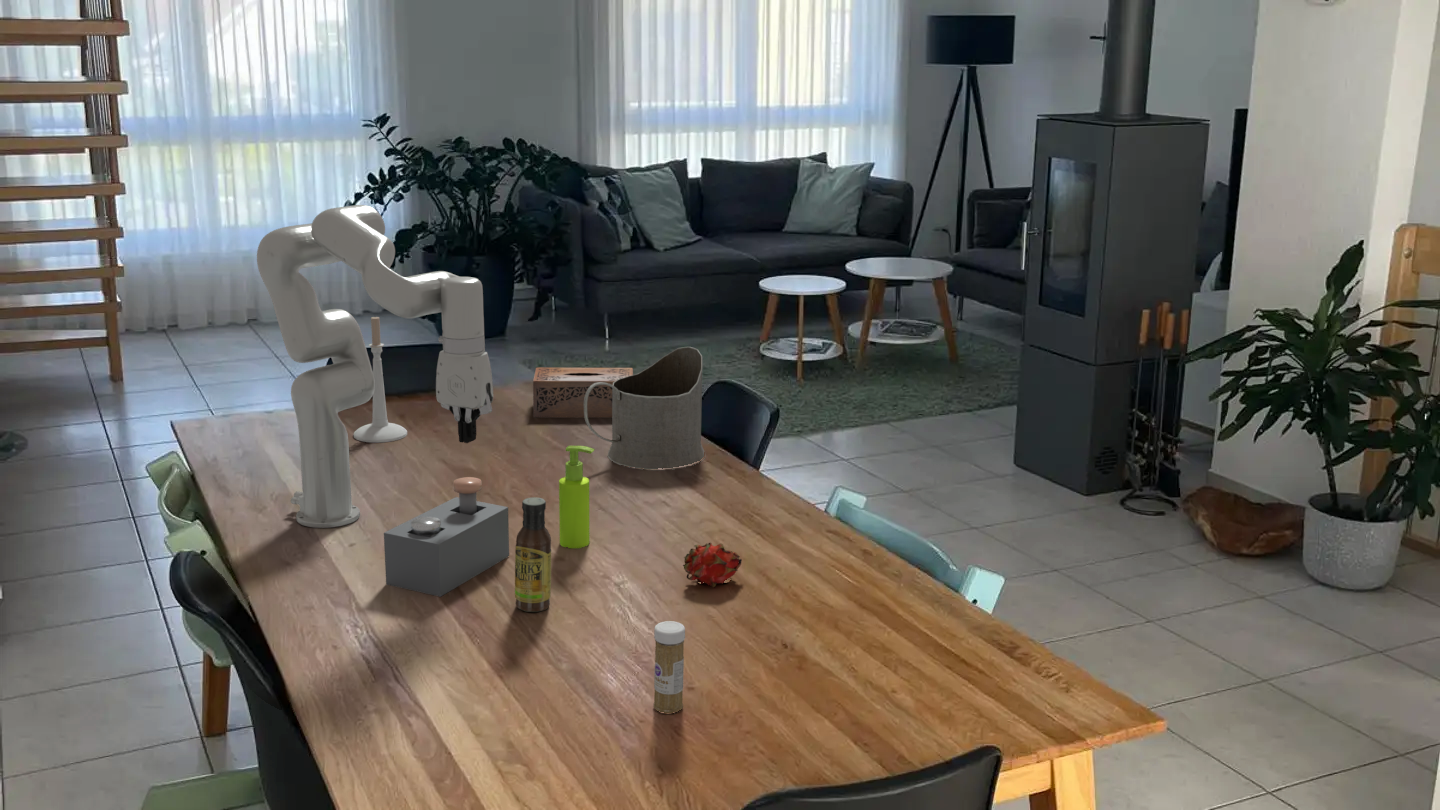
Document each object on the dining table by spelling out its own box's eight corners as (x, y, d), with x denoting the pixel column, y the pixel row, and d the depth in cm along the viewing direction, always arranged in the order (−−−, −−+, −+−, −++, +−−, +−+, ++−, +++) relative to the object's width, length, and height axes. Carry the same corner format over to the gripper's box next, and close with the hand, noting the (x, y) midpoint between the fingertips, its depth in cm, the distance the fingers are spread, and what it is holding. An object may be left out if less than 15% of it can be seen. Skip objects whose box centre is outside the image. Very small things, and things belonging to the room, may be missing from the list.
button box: (386, 584, 250) (383, 532, 248) (457, 545, 270) (456, 497, 267) (440, 596, 246) (438, 544, 243) (509, 556, 265) (508, 507, 262)
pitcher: (724, 459, 327) (727, 356, 320) (612, 483, 308) (612, 375, 302) (668, 435, 345) (669, 338, 338) (558, 456, 326) (557, 354, 319)
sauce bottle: (508, 610, 241) (506, 503, 235) (526, 597, 246) (524, 492, 241) (541, 616, 238) (539, 508, 233) (558, 603, 244) (557, 497, 239)
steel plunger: (406, 562, 250) (405, 523, 248) (424, 553, 254) (423, 515, 252) (430, 567, 248) (428, 528, 246) (447, 558, 252) (446, 519, 250)
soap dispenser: (589, 550, 269) (589, 452, 263) (555, 546, 270) (554, 449, 265) (598, 539, 274) (597, 443, 269) (564, 536, 276) (564, 441, 270)
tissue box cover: (533, 418, 358) (533, 381, 355) (536, 403, 371) (536, 367, 369) (632, 418, 359) (633, 381, 357) (632, 403, 373) (632, 367, 371)
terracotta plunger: (449, 520, 260) (447, 483, 258) (465, 512, 265) (464, 475, 263) (471, 525, 258) (470, 487, 256) (487, 517, 262) (486, 479, 260)
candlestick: (400, 443, 333) (395, 322, 325) (347, 441, 333) (341, 320, 325) (412, 428, 346) (407, 311, 338) (361, 426, 346) (355, 309, 338)
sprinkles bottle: (647, 708, 207) (647, 626, 204) (667, 698, 211) (668, 617, 207) (669, 718, 205) (670, 635, 201) (689, 707, 208) (691, 626, 204)
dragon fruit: (676, 593, 253) (735, 593, 258) (694, 582, 246) (754, 582, 251) (671, 549, 256) (730, 549, 261) (690, 536, 249) (749, 537, 254)
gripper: (417, 344, 252) (422, 440, 257) (486, 353, 246) (489, 451, 251) (442, 337, 258) (446, 430, 263) (509, 345, 252) (512, 441, 257)
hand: (467, 440), depth 257 cm, fingers closed
